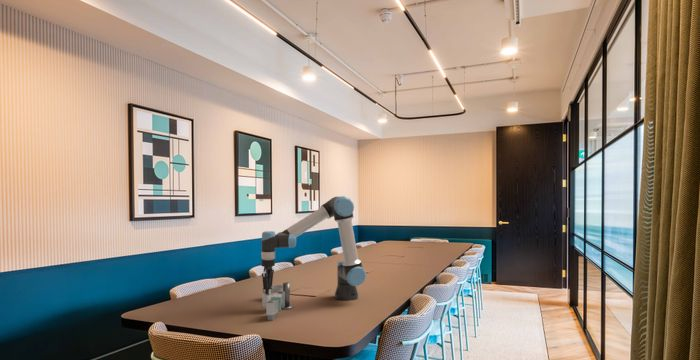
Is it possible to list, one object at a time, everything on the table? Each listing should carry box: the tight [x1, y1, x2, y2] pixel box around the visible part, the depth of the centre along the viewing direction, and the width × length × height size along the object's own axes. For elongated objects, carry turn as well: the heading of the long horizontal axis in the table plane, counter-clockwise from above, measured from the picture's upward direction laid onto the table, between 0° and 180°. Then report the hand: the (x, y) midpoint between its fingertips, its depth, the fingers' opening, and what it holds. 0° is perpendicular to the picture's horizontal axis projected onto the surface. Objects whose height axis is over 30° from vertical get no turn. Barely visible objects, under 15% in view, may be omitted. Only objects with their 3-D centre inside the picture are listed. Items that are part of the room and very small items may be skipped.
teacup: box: [261, 284, 283, 294], centre depth 253 cm, size 14×11×8 cm
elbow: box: [261, 290, 285, 309], centre depth 227 cm, size 12×5×9 cm, turn 137°
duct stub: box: [265, 297, 282, 322], centre depth 213 cm, size 10×5×10 cm, turn 170°
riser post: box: [281, 281, 294, 310], centre depth 234 cm, size 8×8×14 cm
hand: (267, 300), depth 229 cm, fingers closed
